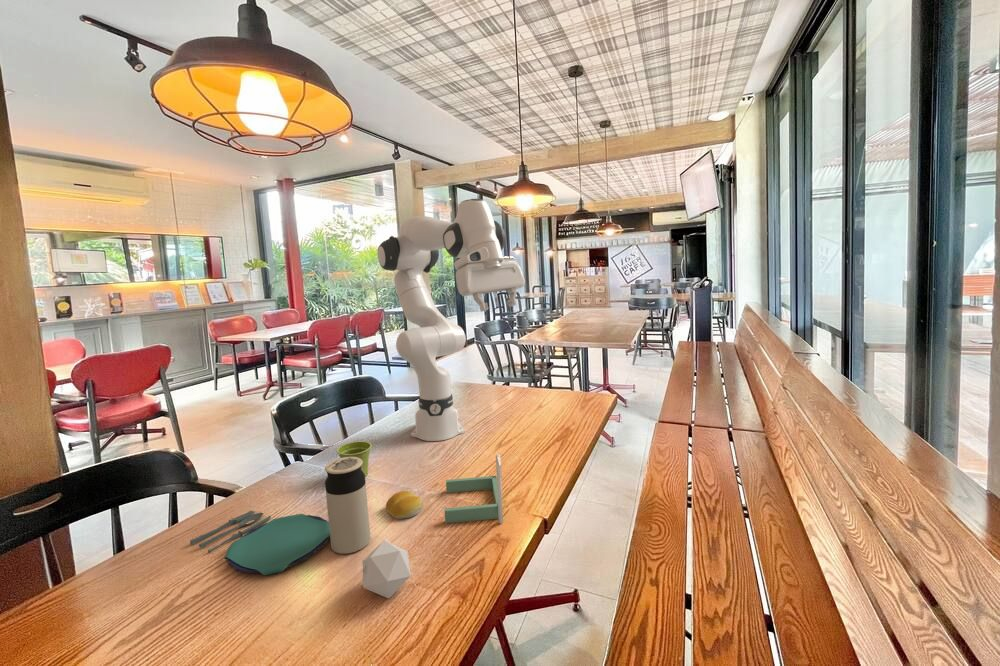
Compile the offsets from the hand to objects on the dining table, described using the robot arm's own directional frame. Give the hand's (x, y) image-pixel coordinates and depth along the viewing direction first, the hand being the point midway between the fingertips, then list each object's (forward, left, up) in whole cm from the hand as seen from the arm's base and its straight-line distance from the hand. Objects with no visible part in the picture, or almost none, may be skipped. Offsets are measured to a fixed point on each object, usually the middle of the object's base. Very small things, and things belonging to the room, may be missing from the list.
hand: (499, 308), depth 115 cm
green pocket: (+16, -10, -47) cm, 51 cm away
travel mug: (+25, -36, -47) cm, 65 cm away
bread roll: (+13, -26, -48) cm, 56 cm away
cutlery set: (+21, -55, -48) cm, 76 cm away
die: (+40, -26, -47) cm, 67 cm away
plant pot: (-8, -42, -47) cm, 64 cm away
